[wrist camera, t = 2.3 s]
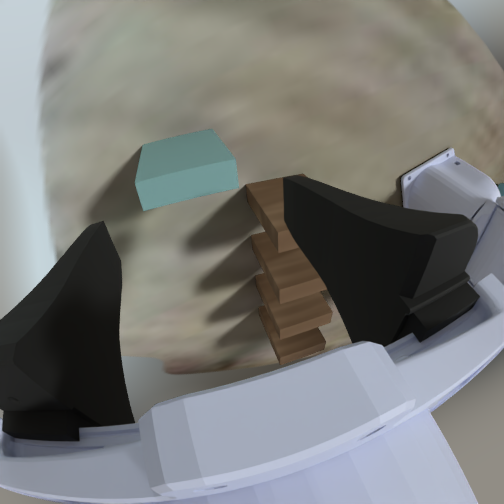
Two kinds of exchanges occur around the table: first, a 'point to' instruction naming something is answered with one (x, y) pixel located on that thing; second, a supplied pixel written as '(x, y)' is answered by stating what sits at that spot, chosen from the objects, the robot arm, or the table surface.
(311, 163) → the table surface
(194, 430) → the robot arm
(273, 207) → the domino
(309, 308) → the domino
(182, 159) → the placed domino
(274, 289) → the domino
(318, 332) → the domino
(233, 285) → the table surface
